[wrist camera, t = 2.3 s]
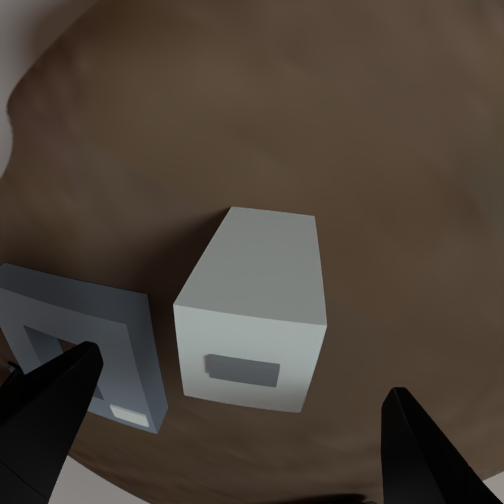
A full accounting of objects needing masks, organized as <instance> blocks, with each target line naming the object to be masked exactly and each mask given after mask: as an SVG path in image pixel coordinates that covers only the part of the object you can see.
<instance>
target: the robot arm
mask: <svg viewBox="0 0 504 504" xmlns="http://www.w3.org/2000/svg"><path fill="white" fill-rule="evenodd" d="M103 365H104V362H103V358H102V355H101V352H100V349H99V346H98V345H97V344H96V343H94V342H91V341H84V342H82V343H80V344H78V345H77V346H75V347H73V348H71V349H69V350H68V351H66V352H64V353H62V354H61V355H59V356H57V357H55V358H53V359H52V360H50V361H48V362H46V363H45V364H43V365H41V366H39V367H38V368H36V369H34V370H32V371H31V372H29V373H27V374H24V372H23V370H22V369H21V368H20V367H18V366H16V365H14V364H12V363H10V362H8V363H7V367H8V368H9V370H10V372H11V374H10V376H9V377H8V378H7V379H6V381H5V382H4V383H3V385H2V386H1V387H0V504H48V502H49V499H50V497H51V494H52V491H53V489H54V486H55V484H56V481H57V479H58V476H59V474H60V471H61V469H62V466H63V464H64V462H65V459H66V457H67V455H68V452H69V450H70V448H71V445H72V443H73V441H74V439H75V436H76V434H77V432H78V430H79V427H80V425H81V423H82V421H83V419H84V417H85V414H86V412H87V410H88V408H89V405H90V403H91V400H92V397H93V394H94V392H95V389H96V386H97V383H98V380H99V377H100V375H101V372H102V369H103ZM381 462H382V476H383V494H384V504H503V503H502V502H501V501H500V500H499V499H498V498H497V497H496V496H495V495H494V494H493V493H492V492H491V491H490V489H489V488H488V487H487V486H486V485H485V484H484V483H483V482H482V481H481V479H480V478H479V477H478V476H477V474H476V473H475V472H474V471H473V469H472V468H471V467H470V466H468V463H467V462H466V461H465V459H464V458H463V457H462V456H461V454H460V453H459V452H458V451H457V449H456V448H455V447H454V446H453V444H452V443H451V442H450V441H449V439H448V438H447V437H446V436H445V434H444V433H443V432H442V431H441V430H440V428H439V427H438V426H437V425H436V423H435V422H434V421H433V420H432V419H431V417H430V416H429V415H428V414H427V412H426V411H425V410H424V409H423V408H422V406H421V405H420V404H419V403H418V402H417V400H416V399H415V398H414V397H413V396H412V394H411V393H410V392H409V391H408V390H407V389H406V388H405V387H393V388H392V389H391V390H390V392H389V394H388V396H387V397H386V399H385V401H384V402H383V405H382V409H381Z"/></svg>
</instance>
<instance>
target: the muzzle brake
mask: <svg viewBox="0 0 504 504" xmlns="http://www.w3.org/2000/svg"><path fill="white" fill-rule="evenodd" d="M325 504H335V503H333V502H330V503H325ZM343 504H377V503H376V502H374V501H369V502H365V503H363V502H361V501H352V502H348V503H343Z"/></svg>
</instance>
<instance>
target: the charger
mask: <svg viewBox="0 0 504 504" xmlns="http://www.w3.org/2000/svg"><path fill="white" fill-rule="evenodd" d="M173 307H174V317H175V327H176V336H177V345H178V353H179V361H180V369H181V376H182V383H183V390H184V395H186V396H191V397H196V398H201V399H206V400H211V401H216V402H222V403H228V404H234V405H240V406H247V407H254V408H261V409H269V410H277V411H287V412H297V413H300V412H301V409H302V406H303V403H304V400H305V397H306V394H307V391H308V388H309V385H310V382H311V379H312V375H313V372H314V369H315V366H316V362H317V359H318V355H319V352H320V349H321V345H322V342H323V338H324V334H325V331H326V327H327V321H326V310H325V300H324V290H323V280H322V272H321V263H320V255H319V247H318V239H317V232H316V224H315V217H314V216H309V215H301V214H293V213H284V212H276V211H267V210H258V209H249V208H239V207H231V208H230V210H229V212H228V213H227V215H226V216H225V218H224V220H223V221H222V223H221V225H220V226H219V228H218V229H217V231H216V233H215V234H214V236H213V238H212V239H211V241H210V243H209V244H208V246H207V248H206V249H205V251H204V253H203V254H202V256H201V258H200V259H199V261H198V263H197V264H196V266H195V268H194V270H193V271H192V273H191V275H190V276H189V278H188V280H187V282H186V283H185V285H184V287H183V288H182V290H181V292H180V294H179V295H178V297H177V299H176V301H175V302H174V304H173Z"/></svg>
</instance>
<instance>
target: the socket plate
mask: <svg viewBox="0 0 504 504" xmlns="http://www.w3.org/2000/svg"><path fill="white" fill-rule="evenodd" d="M0 327H1V329H2V331H3V333H4V336H5V338H6V340H7V342H8V344H9V346H10V348H11V350H12V352H13V354H14V356H15V358H16V359H17V361H18V363H19V365H20V367H21V369H22V370H23V372H24V374H27V373H29V372H31V371H32V370H34V369H36V368H38V367H39V366H41V365H43V364H45V363H46V362H48V361H50V360H52V359H53V358H55V357H57V356H59V355H61V354H62V353H63V351H62V348H61V346H60V344H59V341H58V339H57V338H59V339H62V340H65V341H67V342H70V343H73V344H76V345H78V344H80V343H82V342H84V341H91V342H94V343H96V344H97V345H98V346H99V349H100V352H101V355H102V358H103V362H104V365H103V369H102V372H101V375H100V377H99V380H98V383H97V386H96V389H95V392H94V394H93V397H92V400H91V403H90V405H89V408H88V410H87V411H90V412H92V413H95V414H98V415H100V416H103V417H106V418H108V419H111V420H114V421H117V422H120V423H123V424H126V425H129V426H132V427H135V428H138V429H142V430H145V431H148V432H152V433H155V434H158V432H159V429H160V426H161V424H162V421H163V419H164V416H165V414H166V411H167V409H168V404H167V399H166V395H165V390H164V386H163V381H162V376H161V371H160V367H159V361H158V356H157V351H156V345H155V340H154V334H153V328H152V322H151V315H150V309H149V302H148V295H147V294H144V293H138V292H133V291H128V290H123V289H118V288H113V287H108V286H103V285H98V284H93V283H89V282H84V281H79V280H75V279H70V278H66V277H61V276H57V275H53V274H49V273H44V272H40V271H36V270H32V269H28V268H24V267H20V266H16V265H12V264H8V263H4V264H3V265H2V266H0Z"/></svg>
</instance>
